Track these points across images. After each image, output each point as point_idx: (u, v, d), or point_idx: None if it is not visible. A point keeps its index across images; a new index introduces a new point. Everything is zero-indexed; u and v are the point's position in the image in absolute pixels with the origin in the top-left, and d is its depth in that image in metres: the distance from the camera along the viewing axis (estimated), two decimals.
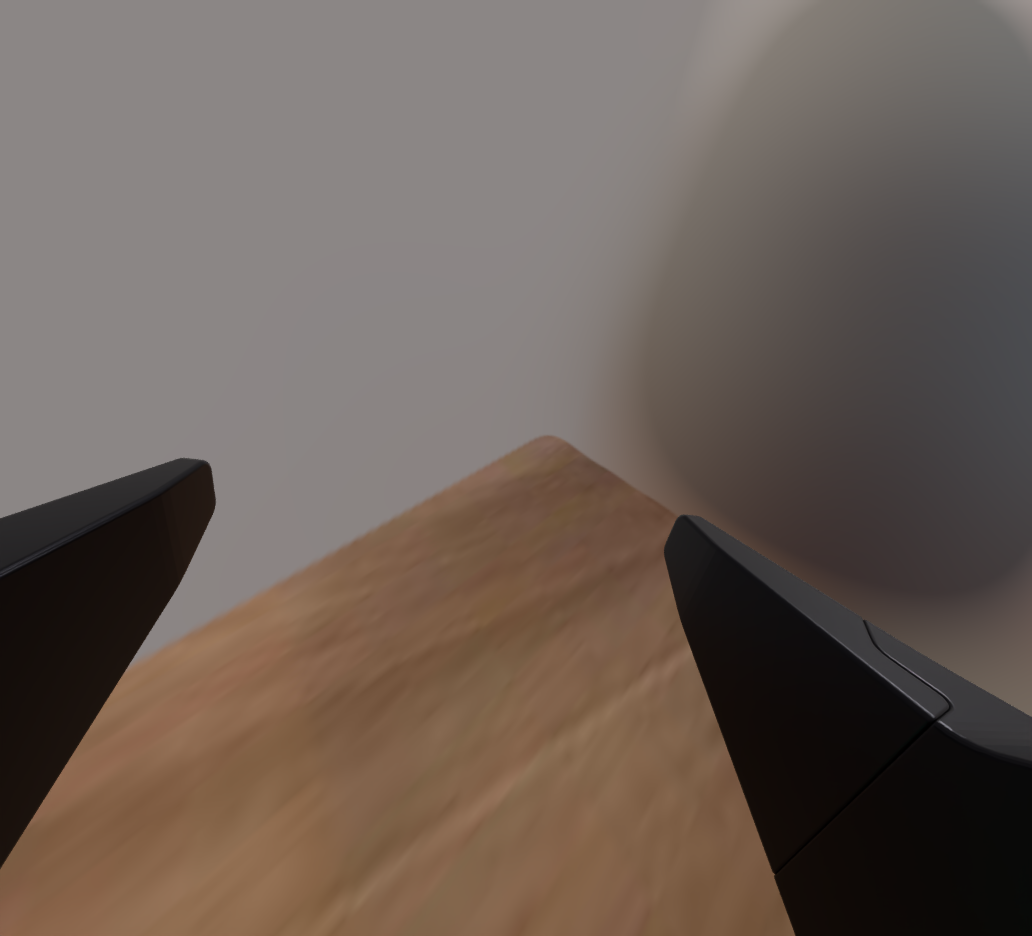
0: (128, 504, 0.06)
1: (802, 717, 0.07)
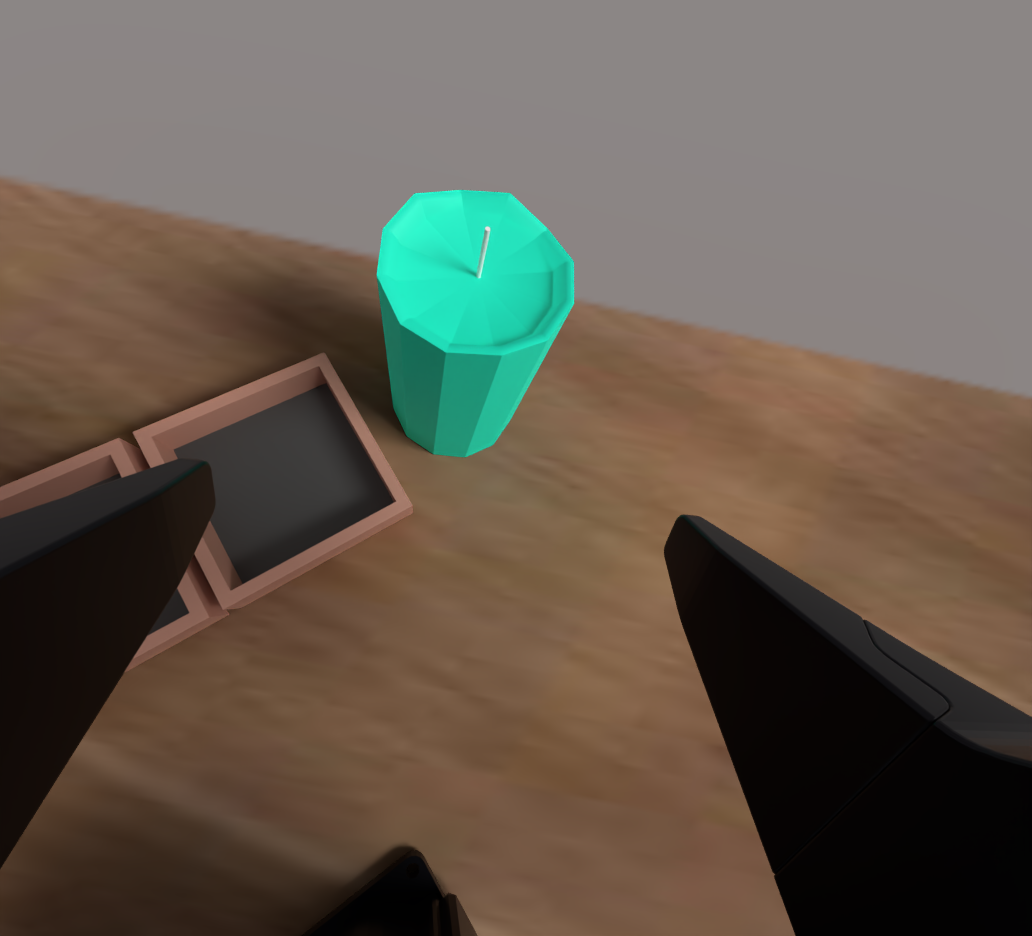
0: (128, 504, 0.06)
1: (802, 717, 0.07)
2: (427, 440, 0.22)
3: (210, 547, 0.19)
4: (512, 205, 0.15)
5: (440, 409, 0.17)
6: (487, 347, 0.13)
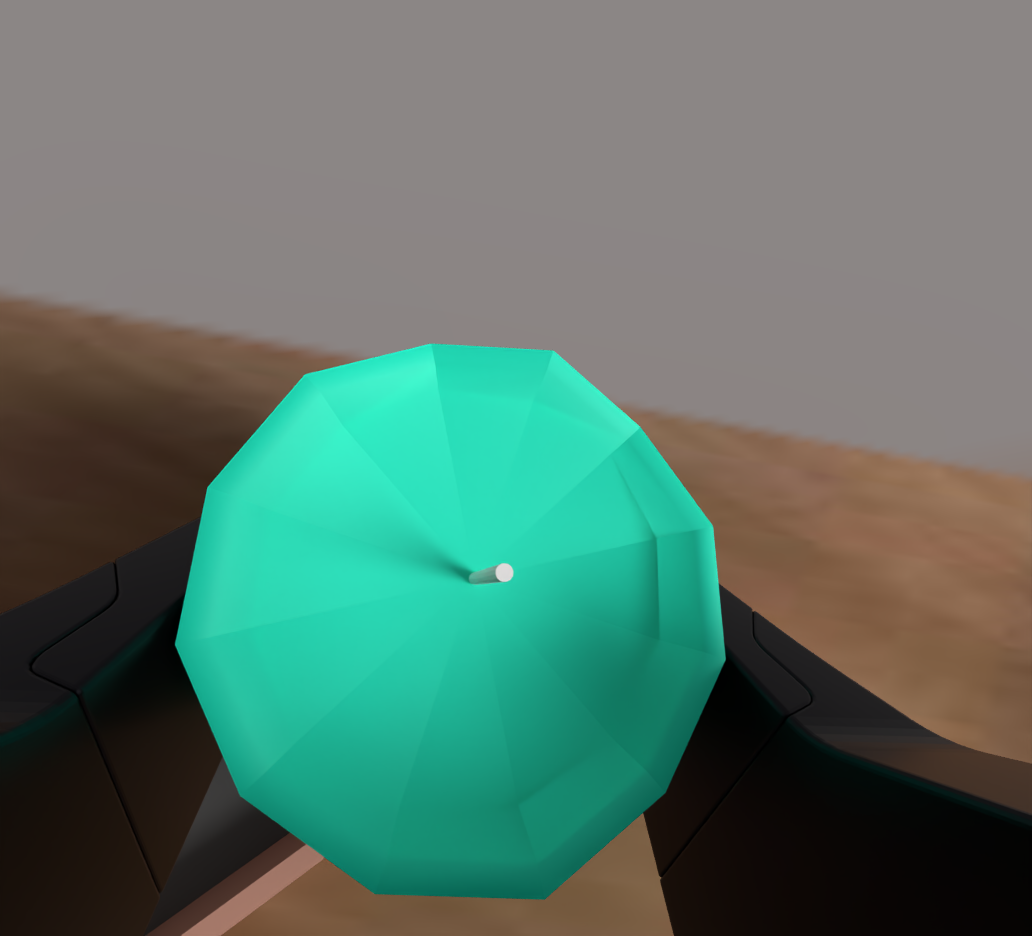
0: None
1: None
2: None
3: None
4: (558, 380, 0.06)
5: None
6: (500, 869, 0.04)
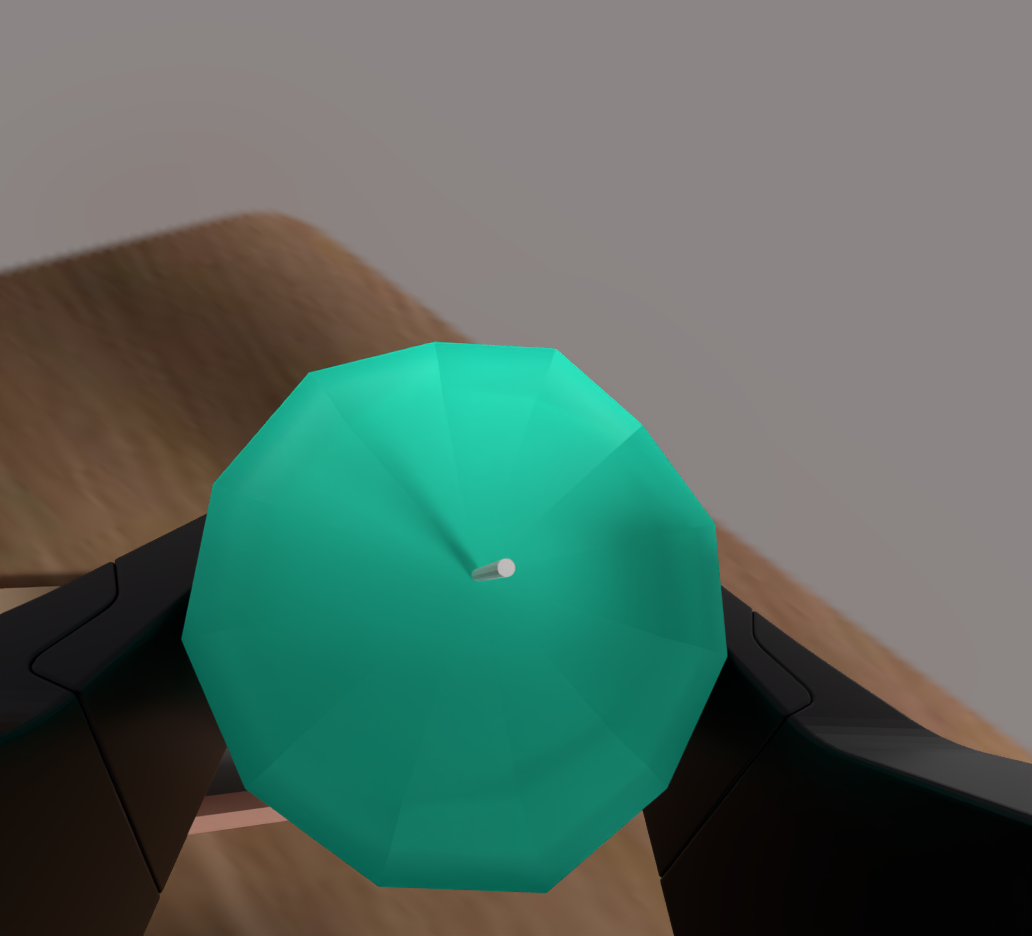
0: None
1: None
2: None
3: None
4: (561, 378, 0.06)
5: None
6: (502, 862, 0.04)
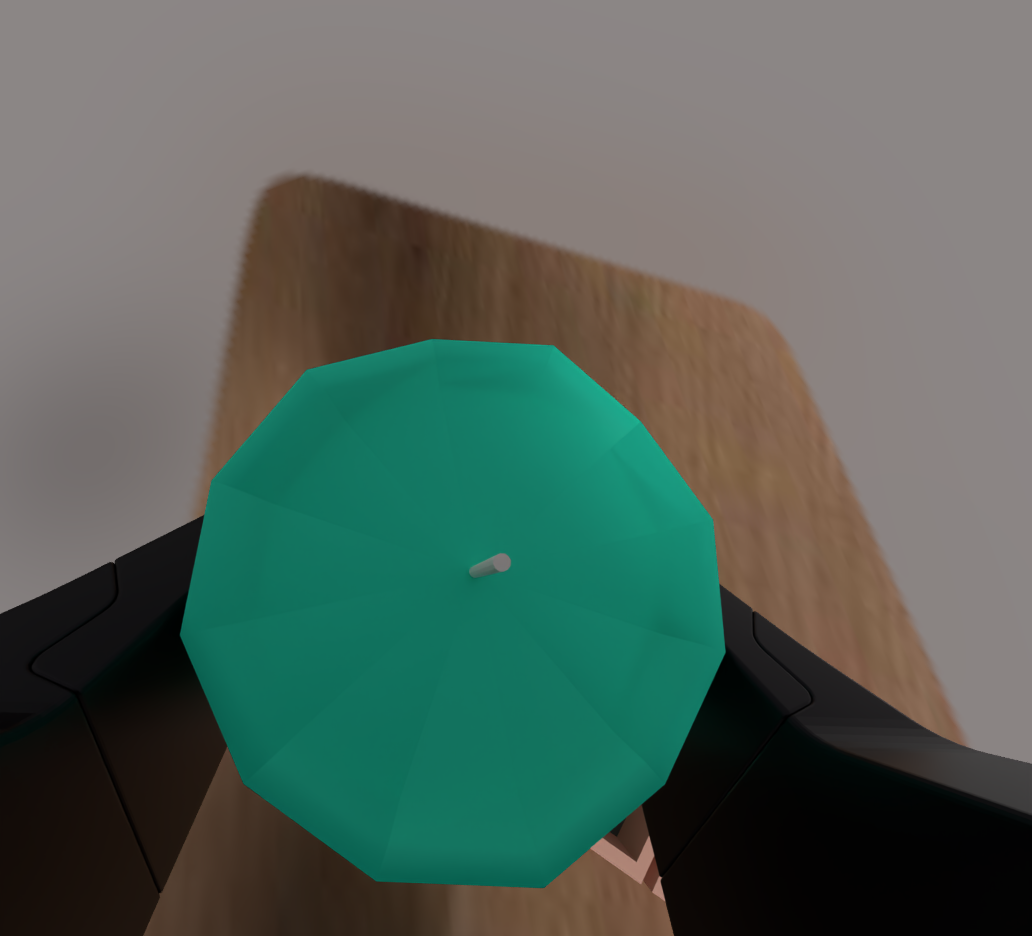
0: None
1: None
2: None
3: None
4: (558, 375, 0.06)
5: None
6: (499, 858, 0.04)
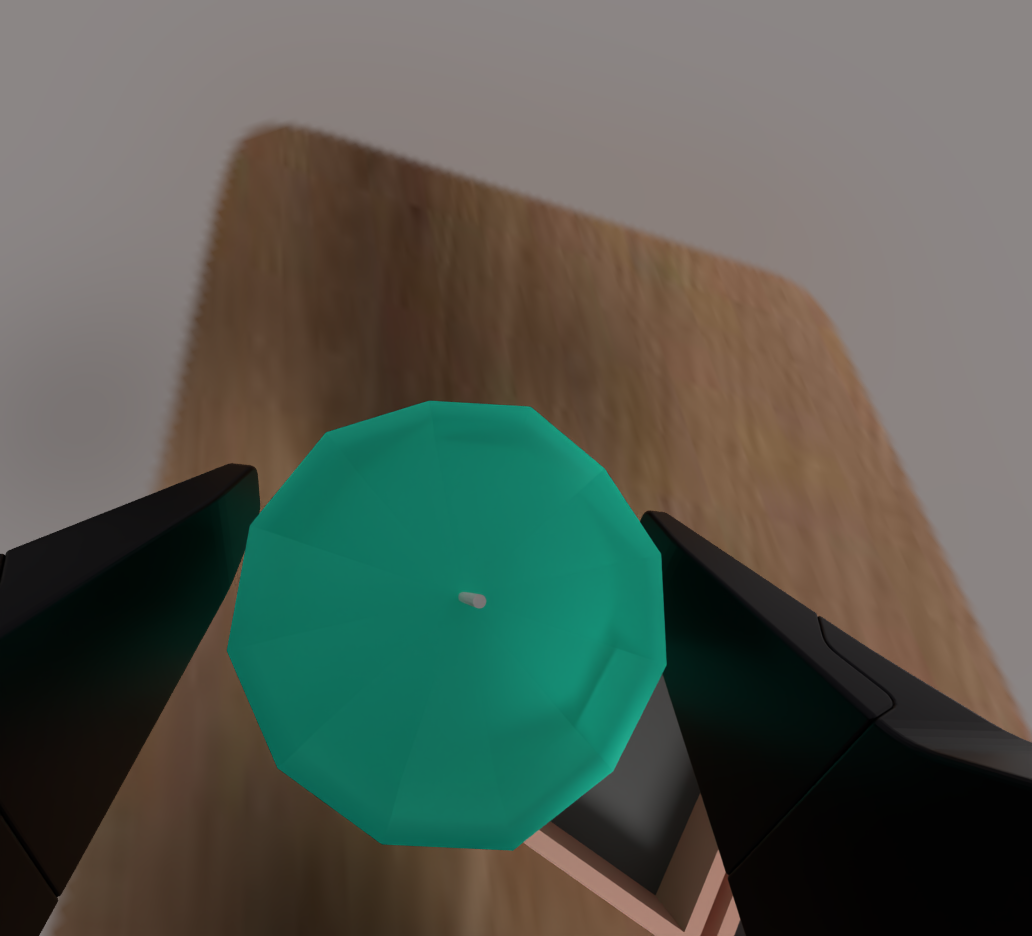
0: (190, 510, 0.06)
1: (753, 716, 0.06)
2: None
3: None
4: (535, 431, 0.07)
5: None
6: (478, 827, 0.06)
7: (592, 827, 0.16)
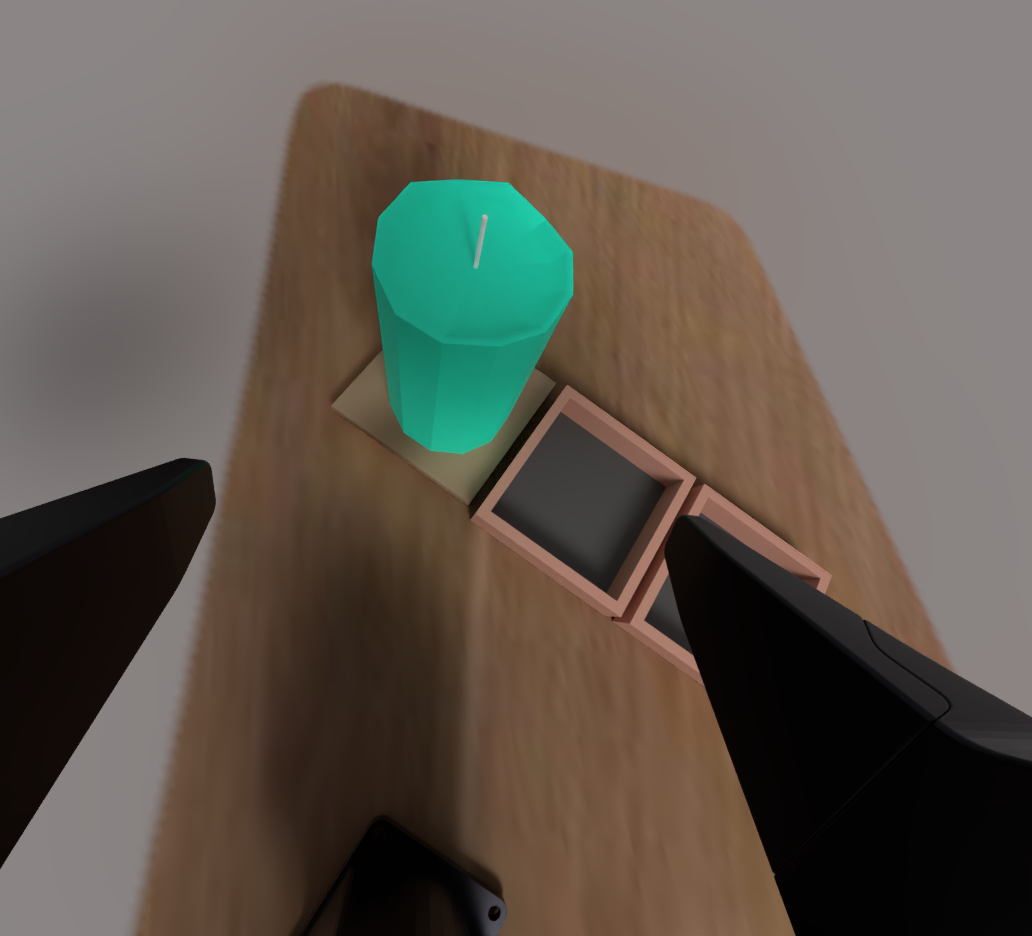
0: (128, 504, 0.06)
1: (801, 716, 0.07)
2: (425, 436, 0.21)
3: (660, 583, 0.22)
4: (510, 195, 0.15)
5: (437, 403, 0.17)
6: (484, 337, 0.13)
7: (558, 555, 0.23)
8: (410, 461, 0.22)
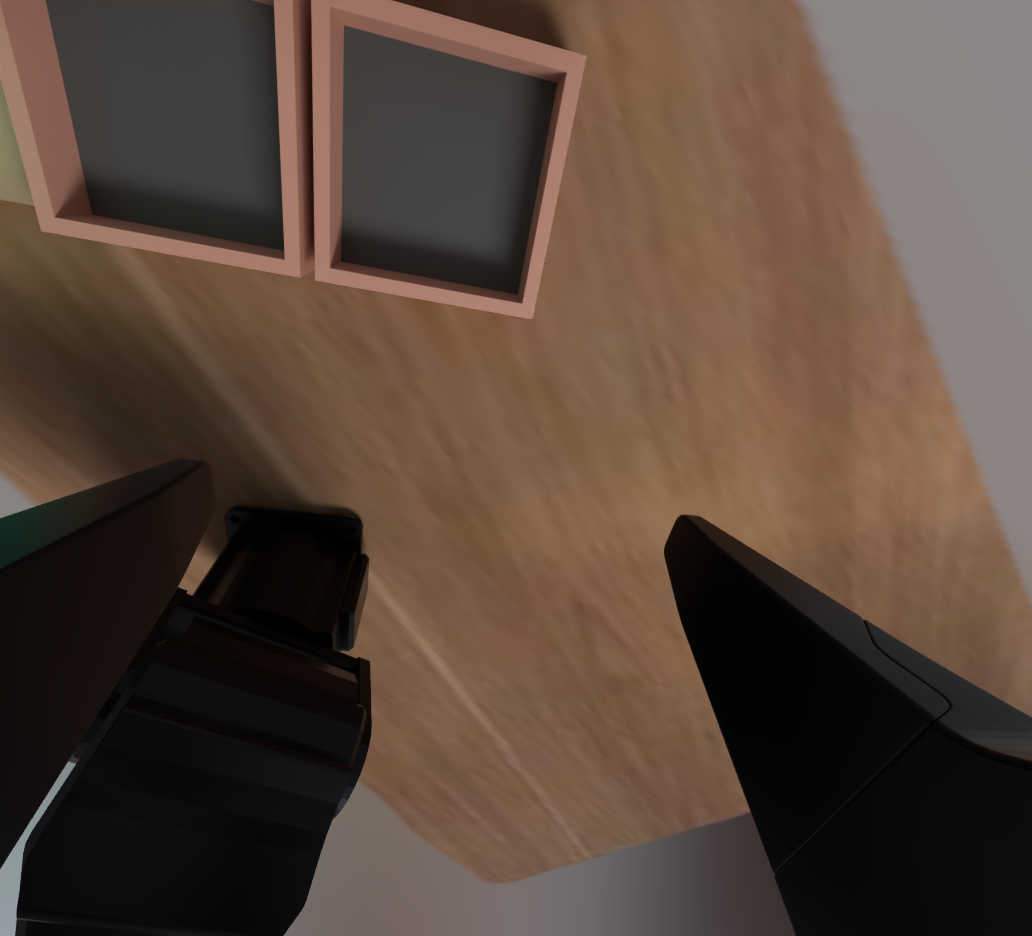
0: (128, 504, 0.06)
1: (802, 717, 0.07)
2: None
3: (332, 206, 0.16)
4: None
5: None
6: None
7: (213, 220, 0.17)
8: None
